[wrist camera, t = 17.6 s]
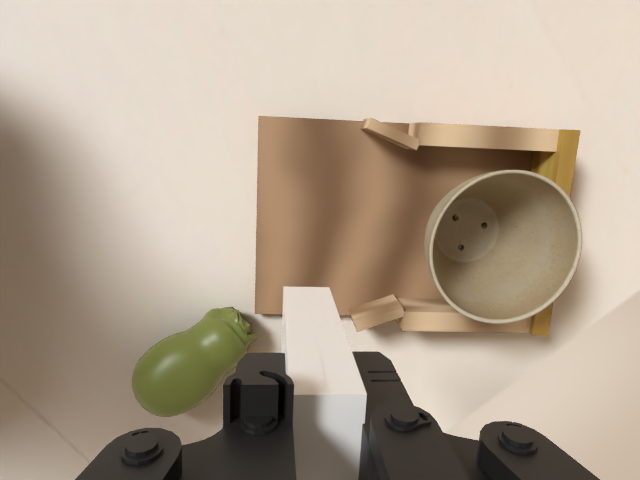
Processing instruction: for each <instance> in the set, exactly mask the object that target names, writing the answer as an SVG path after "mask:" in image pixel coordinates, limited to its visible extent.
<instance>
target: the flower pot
mask: <svg viewBox="0 0 640 480" xmlns="http://www.w3.org/2000/svg"><path fill="white" fill-rule="evenodd" d="M453 217H454V218H455V220H453ZM482 223H485V224H484V225H481V224H482ZM462 246H463V249H461V247H462ZM424 247H425V257H426V262H427V265H428V269H429V272H430V274H431V277H432V279H433V281H434V283H435V285H436V287H437V289H438V290H439V292H440V293H441V295H442V296H443V298H444V299H445V300H446V301H447V302H448V303H449V304H450V305H451V306H452V307H453V308H454V309H456V310H457V311H458V312H460V313H461V314H463V315H465V316H467V317H469V318H471V319H474V320H477V321H480V322H485V323H492V324H501V323H511V322H516V321H520V320H523V319H526V318H528V317H530V316H533V315H535V314H537V313H538V312H540V311H542V310H543V309H545V308H546V307H547V306H549V305H550V304H551V303H552V302H553V301H555V300H556V298H558V297H559V296H560V294H561V293H562V292H563V291H564V290H565V288H566V287H567V285H568V284H569V282H570V281H571V279H572V277H573V275H574V273H575V271H576V268H577V265H578V262H579V259H580V255H581V248H582V230H581V224H580V220H579V216H578V213H577V211H576V208H575V206H574V205H573V203H572V201H571V200H570V198H569V197H568V195H567V194H566V193H565V192H564V191H563V190H562V189H561V188H560V187H559V186H558V185H557V184H556V183H554V182H553V181H551V180H550V179H548V178H546V177H544V176H542V175H539V174H537V173H534V172H530V171H525V170H502V171H495V172H490V173H486V174H482V175H479V176H476V177H474V178H471V179H469V180H467V181H465V182H463V183H461V184H460V185H458V186H456V187H455V188H454V189H452V190H451V191H450V192H448V193H447V194H446V195H445V196H444V197H443V198H442V199H441V200H440V202H439V203H438V204H437V205H436V207H435V208H434V210H433V212H432V214H431V216H430V218H429V220H428V223H427V227H426V231H425V239H424Z"/></svg>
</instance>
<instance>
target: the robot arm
mask: <svg viewBox="0 0 640 480" xmlns="http://www.w3.org/2000/svg"><path fill="white" fill-rule="evenodd" d="M75 480H600V479H598V478H597V477H596V476H595V475H593V474H592V473H591V472H590V471H588V470H587V469H586V468H584V467H583V466H582V465H581V464H579V463H578V462H577V461H576V460H574V459H573V458H572V457H571V456H569V455H568V454H567V453H565V452H564V451H563V450H562V449H560V448H559V447H558V446H557V445H555V444H554V443H553V442H552V441H550V440H549V439H548V438H546V437H545V436H543V435H542V434H540V433H539V432H537V431H536V430H534V429H531V428H529V427H527V426H524V425H522V424H519V423H515V422H514V423H512V422H509V421H502V422H501V421H500V422H492V423H489V424H486V425H485V426H484V427H483V428H482V430H481V431H480V438H479V441H478V440H472V439H467V438H462V437H457V436H453V435H449V434H446V433H443V432H442V430H441V428H440V427H439V425H438V423H437V421H436V420H435V419H434V418H433V417H432V416H431V414H429V413H428V412H426V411H424V410H423V409H421V408H419V407H415V406H414V405H413V403H412V401H411V399H410V397H409V395H408V393H407V391H406V389H405V387H404V385H403V383H402V382H401V379H400V378H399V376H398V374H397V373H396V370H395V368H394V366H393V364H392V362H391V360H389V359H388V358H387V357H385V356H384V355H383V354H381V353H380V352H352V350H351V348H350V345H349V342H348V339H347V336H346V333H345V331H344V328H343V325H342V322H341V319H340V316H339V314H338V311H337V308H336V305H335V302H334V299H333V297H332V294H331V291H330V288H329V287H286V286H283V316H282V347H281V353H246V354H245V355H244V356H243V357H242V358H241V359H240V360H239V361H238V363H237V369H236V373H234V374H233V375H231V376H230V377H228V378H227V380H226V381H225V383H224V385H223V428H222V430H220V431H219V432H218V433H216V434H215V435H213V436H211V437H209V438H207V439H205V440H202V441H199V442H195V443H191V444H187V445H181V442H180V438H179V437H178V436H176V435H175V434H174V433H173V432H171V431H168V430H164V429H161V428H144V429H138V430H134V431H130V432H128V433H126V434H124V435H121V436H119V437H117V438H116V439H114V440H113V441H112V442H111V443H109V444H108V445H107V446H106V447H105V448H104V449H103V450H102V451H101V452H100V453H99V454H98V455H97V457H96V458H95V459H94V460H93V461H92V462H91V463H90V464H89V465H88V466H87V467H86V468H85V470H84V471H83V472H82V473H81V474H80V475H79V476H78V477H77V478H76V479H75Z"/></svg>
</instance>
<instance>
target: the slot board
mask: <svg viewBox="0 0 640 480" xmlns="http://www.w3.org/2000/svg"><path fill="white" fill-rule="evenodd" d="M579 136H580V130H556V129H536V128H517V127H497V126H478V125H458V124H439V123H411V124H406V123H386V122H379V121H377V120H375V119H373V118H369V119H364V121H347V120H328V119H308V118H289V117H269V116H259V123H258V176H257V229H256V283H255V314H283V286H286V287H329V288H330V291H331V294H332V297H333V299H334V302H335V305H336V308H337V311H338V314H339V315H351V317H352V320H353V323H354V325H355V328H356V331H357V332H359V331H362V330H365V329H368V328H371V327H374V326H377V325H380V324H383V323H386V322H389V321H392V320H396V321H397V323H398V325H399V326H400V328H401V330H402V331H444V332H522V333H530V334H532V335H548V332H549V325H550V319H551V313H552V306H553V302H552V303H551V304H550V305H549V306H547V307H546V308H545V309H543V310H542V311H540V312H538V313H537V314H535V315H533V316H530V317H528V318H526V319H523V320H520V321H516V322H511V323H501V324H492V323H485V322H480V321H477V320H474V319H471V318H469V317H467V316H465V315H463V314H461V313H460V312H458V311H457V310H456V309H454V308H453V307H452V306H451V305H450V304H449V303H448V302H447V301H446V300H445V299H444V298H443V296H442V295H441V293H440V292H439V290H438V289H437V287H436V285H435V283H434V281H433V279H432V277H431V274H430V272H429V269H428V265H427V262H426V257H425V247H424V239H425V231H426V227H427V223H428V220H429V218H430V216H431V214H432V212H433V210H434V208H435V207H436V205H437V204H438V203H439V202H440V200H441V199H442V198H443V197H444V196H445V195H446V194H447V193H448V192H450V191H451V190H452V189H454V188H455V187H456V186H458V185H460V184H461V183H463V182H465V181H467V180H469V179H471V178H474V177H476V176H479V175H482V174H486V173H490V172H495V171H502V170H525V171H530V172H534V173H537V174H539V175H542V176H544V177H546V178H548V179H550V180H551V181H553V182H554V183H556V184H557V185H558V186H559V187H560V188H561V189H562V190H563V191H564V192H565V193H566V194H567V195H568V197H569V198H570V193H571V186H572V180H573V174H574V167H575V161H576V155H577V148H578V142H579ZM453 220H455V218H454V217H453ZM484 224H485V223H482V224H481V225H484ZM461 249H463V246H462V247H461Z"/></svg>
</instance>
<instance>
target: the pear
mask: <svg viewBox="0 0 640 480" xmlns="http://www.w3.org/2000/svg"><path fill="white" fill-rule="evenodd" d="M249 326H250V324H249V323H248V322H247V321H245V320H244V318H242V317H241V315H240V313H239V310H234V309H233V307H226V308H222V309H212V310H210V311H209V312H208V313H207V314H206V315H205V316H204V318H203V319H202V320H201V321H200V322H199V323H197V324H196V325H195V326H193V327H192V328H190V329H189V330H187V331H185V332H181V333H177V334H174V335H172V336H169V337H167V338H165V339H164V340H162V341H160V342H159V343H157V344H156V345H155V346H153V347H152V348H151V349H150V350H148V351H147V352H146V353H145V354H144V355H143V357H142V358H141V359H140V360H139V362H138V363H137V365H136V367H135V369H134V372H133V376H132V387H133V392H134V394H135V397H136V399H137V400H138V402H139V403H140V405H141V406H142V407H143V408H144V409H146V410H147V411H148V412H150V413H152V414H154V415H157V416H162V417H170V416H175V415H179V414H181V413H184V412H186V411H188V410H190V409H192V408H194V407H195V406H197V405H199V404H200V403H202V402H203V401H204V400H206V399H207V398H208V397H209V396H210V395H211V394H212V393H213V392H214V391H215V389H216V388H217V387H218V385H219V383H220V382H221V380H222V378H223V377H224V376H225V375H226V374H227V373H228V372H229V371H230V370H232V369H233V368H235V367H236V366H237V363H238V361H239V360H240V359H241V358H242V357H243V356H244V355H245V354H246V352H247V350H248V346H249V344H250V343H252V342H253V341H255V340H256V338H257V334H256V333H255V332H253V331H252V330H251V326H250V327H249ZM248 327H249V328H248Z"/></svg>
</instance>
